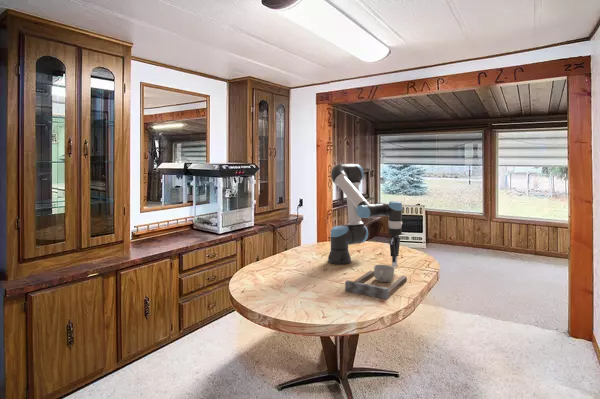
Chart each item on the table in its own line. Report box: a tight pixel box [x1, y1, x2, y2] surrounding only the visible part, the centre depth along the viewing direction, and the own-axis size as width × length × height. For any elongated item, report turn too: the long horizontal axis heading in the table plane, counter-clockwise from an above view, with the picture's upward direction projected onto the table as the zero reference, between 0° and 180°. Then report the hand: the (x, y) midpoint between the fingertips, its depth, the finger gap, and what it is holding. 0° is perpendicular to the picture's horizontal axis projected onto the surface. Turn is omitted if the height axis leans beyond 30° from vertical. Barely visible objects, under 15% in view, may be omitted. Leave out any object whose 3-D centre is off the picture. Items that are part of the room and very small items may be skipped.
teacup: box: [373, 264, 395, 283], centre depth 202 cm, size 14×11×8 cm
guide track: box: [344, 270, 408, 300], centre depth 195 cm, size 22×32×5 cm
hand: (394, 267), depth 218 cm, fingers closed
